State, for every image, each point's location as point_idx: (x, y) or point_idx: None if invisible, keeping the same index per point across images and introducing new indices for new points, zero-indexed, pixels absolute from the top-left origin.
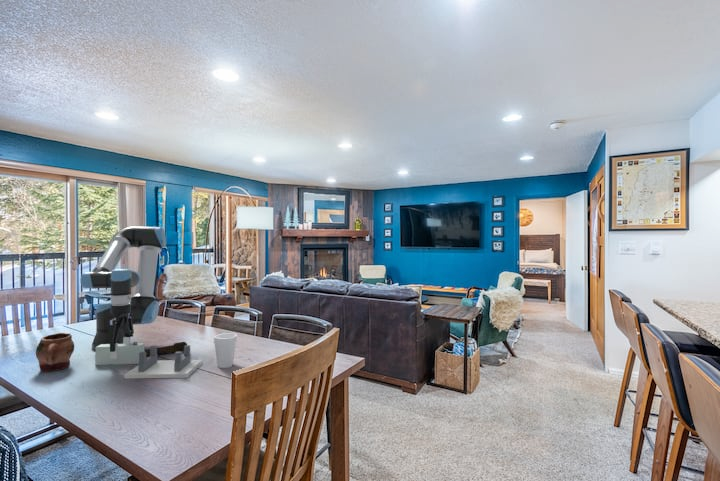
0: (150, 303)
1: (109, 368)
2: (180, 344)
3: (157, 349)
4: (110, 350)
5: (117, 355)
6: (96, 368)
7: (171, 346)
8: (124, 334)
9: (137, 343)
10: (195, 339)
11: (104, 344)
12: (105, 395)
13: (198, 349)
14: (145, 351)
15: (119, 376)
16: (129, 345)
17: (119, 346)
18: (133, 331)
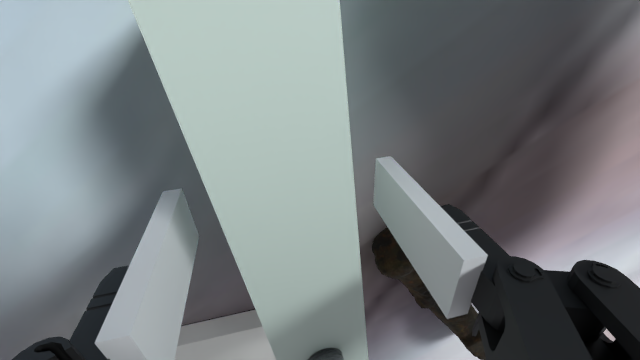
0: None
1: (148, 177)
2: (471, 352)
3: (422, 302)
4: (102, 290)
5: (192, 256)
6: (107, 68)
7: (456, 332)
8: (509, 305)
9: (360, 350)
10: (623, 266)
11: (323, 11)
12: None
13: (463, 347)
14: (388, 276)
15: (52, 323)
16: (294, 343)
17: (250, 292)
18: (594, 346)
